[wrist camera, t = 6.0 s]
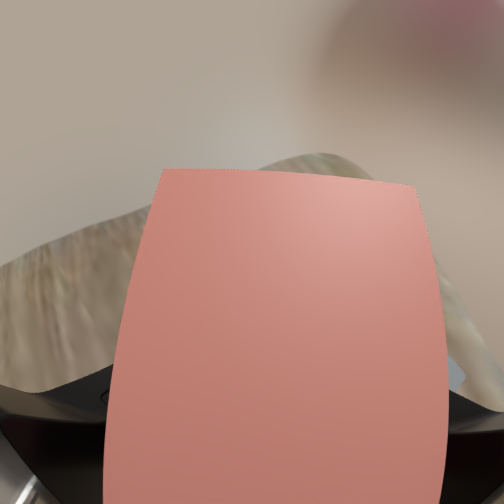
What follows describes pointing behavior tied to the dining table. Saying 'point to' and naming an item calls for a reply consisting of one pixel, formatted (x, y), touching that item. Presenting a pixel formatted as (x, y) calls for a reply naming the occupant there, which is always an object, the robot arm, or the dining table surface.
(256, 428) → the boxed book
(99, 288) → the dining table surface
